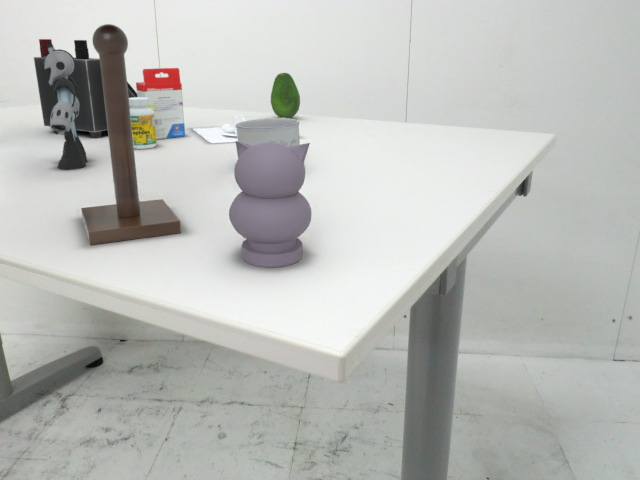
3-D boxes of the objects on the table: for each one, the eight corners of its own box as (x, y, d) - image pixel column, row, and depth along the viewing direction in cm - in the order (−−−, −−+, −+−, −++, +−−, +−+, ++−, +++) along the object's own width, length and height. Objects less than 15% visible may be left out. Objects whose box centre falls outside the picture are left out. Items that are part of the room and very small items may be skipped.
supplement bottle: (158, 144, 118) (154, 96, 114) (155, 149, 113) (150, 99, 109) (131, 144, 117) (126, 96, 114) (127, 149, 112) (121, 99, 109)
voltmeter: (150, 128, 136) (141, 39, 129) (95, 138, 122) (83, 40, 115) (101, 122, 143) (91, 38, 136) (45, 132, 129) (30, 39, 122)
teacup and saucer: (217, 132, 131) (216, 114, 130) (250, 130, 134) (249, 113, 133) (226, 139, 124) (225, 120, 122) (261, 137, 127) (261, 118, 125)
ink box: (176, 133, 130) (172, 66, 125) (185, 136, 126) (181, 67, 121) (140, 136, 125) (133, 67, 120) (148, 140, 122) (142, 68, 116)
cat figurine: (220, 266, 57) (213, 148, 53) (243, 240, 64) (240, 134, 60) (303, 273, 56) (303, 152, 52) (317, 245, 63) (319, 137, 59)
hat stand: (82, 219, 71) (55, 23, 63) (163, 209, 75) (147, 25, 67) (90, 245, 62) (59, 23, 54) (181, 232, 66) (165, 24, 59)
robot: (84, 176, 91) (67, 44, 84) (51, 178, 90) (31, 44, 83) (91, 152, 109) (77, 42, 102) (64, 153, 107) (48, 41, 100)
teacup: (277, 177, 92) (277, 127, 89) (224, 169, 97) (222, 122, 94) (319, 161, 104) (320, 117, 101) (269, 155, 109) (269, 112, 106)
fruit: (270, 116, 157) (269, 71, 153) (298, 116, 158) (298, 71, 154) (271, 120, 150) (270, 73, 146) (301, 120, 151) (301, 73, 147)
